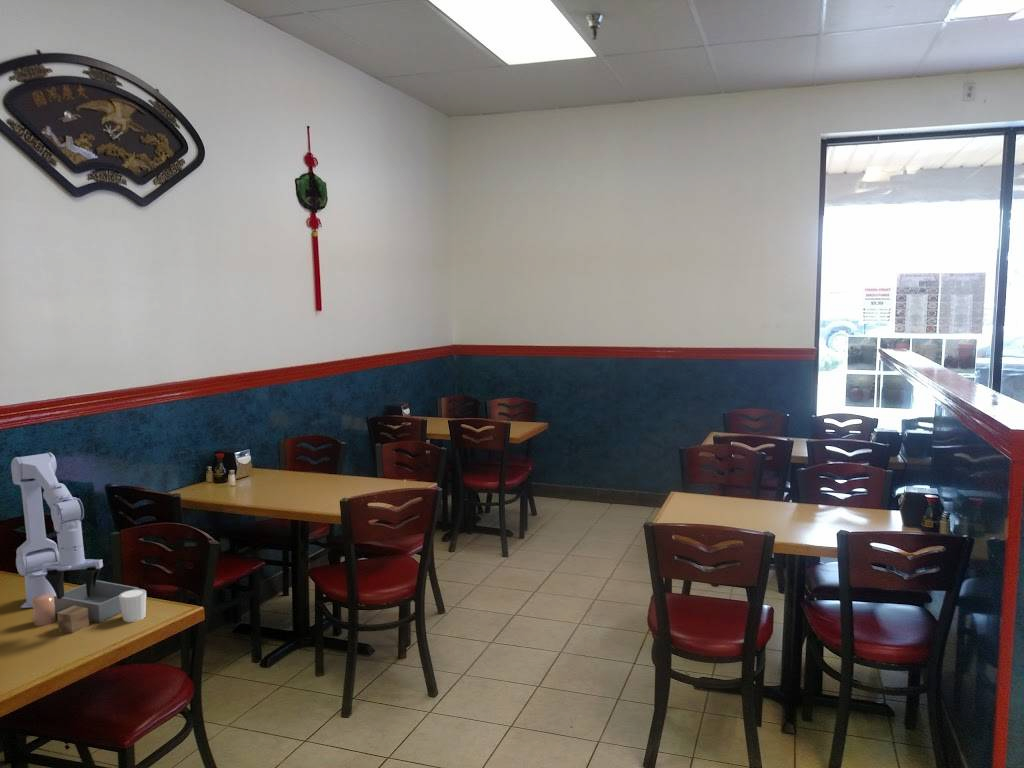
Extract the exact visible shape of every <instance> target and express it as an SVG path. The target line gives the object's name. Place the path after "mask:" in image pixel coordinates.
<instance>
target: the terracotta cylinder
mask: <svg viewBox="0 0 1024 768" xmlns="http://www.w3.org/2000/svg"><path fill="white" fill-rule="evenodd" d="M32 602H33V607H32V610H33V611H32V613H33V623H34V626H35V627H36V626H37V627H43V626H47V625H51V624H53V622H54V623H55V622H56V621H57V619H56V618H57V617H56V615H57V614H55V603H54V595H53V594H42V595H38V596H36V597H34V598H33V599H32Z"/></svg>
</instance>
